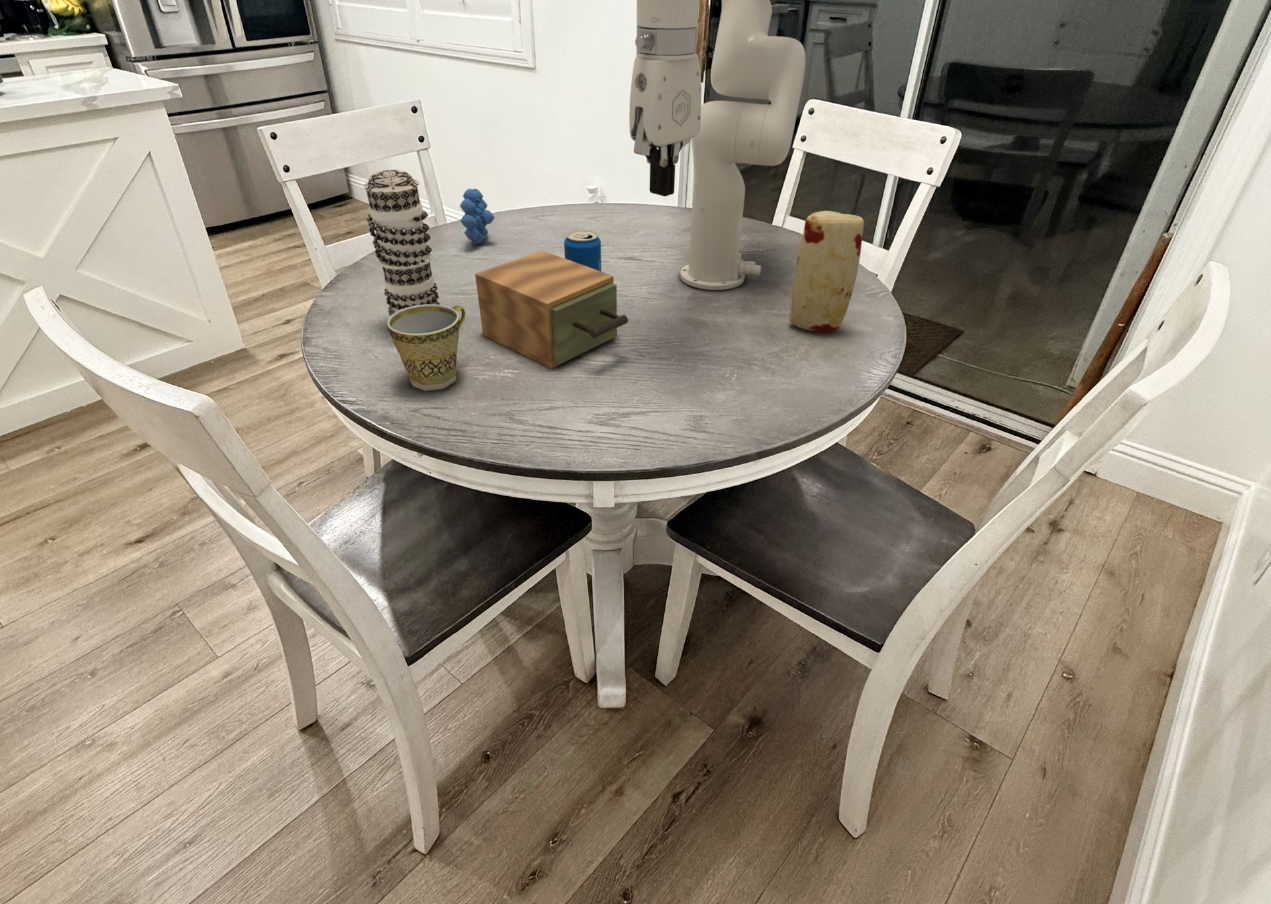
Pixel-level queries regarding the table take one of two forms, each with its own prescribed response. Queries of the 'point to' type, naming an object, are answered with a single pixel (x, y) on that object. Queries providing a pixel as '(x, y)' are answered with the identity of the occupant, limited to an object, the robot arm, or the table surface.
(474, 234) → the grapes
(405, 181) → the decorative candle
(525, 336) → the cabinet
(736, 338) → the table surface
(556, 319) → the drawer
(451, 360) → the ceramic cup
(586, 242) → the beverage can
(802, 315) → the food model
